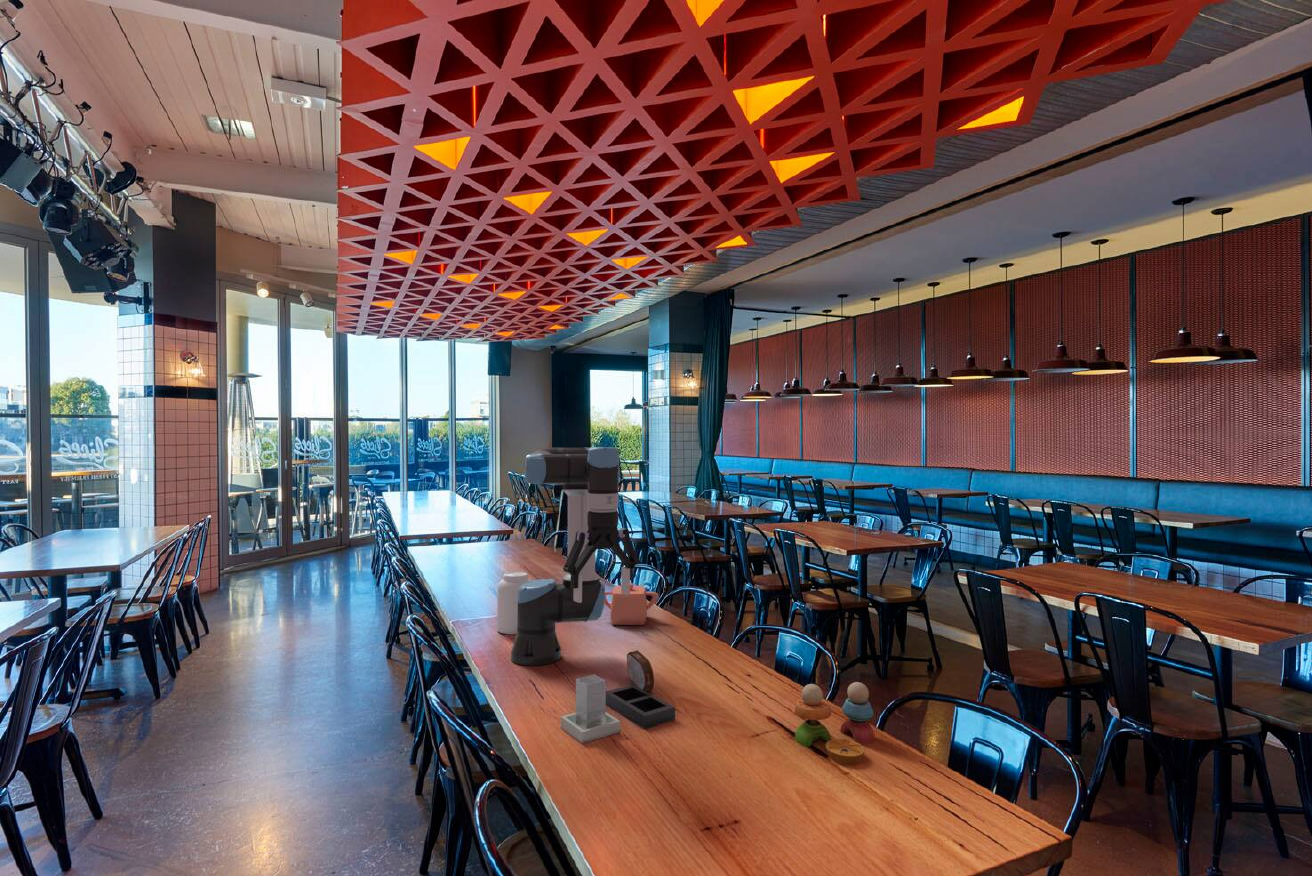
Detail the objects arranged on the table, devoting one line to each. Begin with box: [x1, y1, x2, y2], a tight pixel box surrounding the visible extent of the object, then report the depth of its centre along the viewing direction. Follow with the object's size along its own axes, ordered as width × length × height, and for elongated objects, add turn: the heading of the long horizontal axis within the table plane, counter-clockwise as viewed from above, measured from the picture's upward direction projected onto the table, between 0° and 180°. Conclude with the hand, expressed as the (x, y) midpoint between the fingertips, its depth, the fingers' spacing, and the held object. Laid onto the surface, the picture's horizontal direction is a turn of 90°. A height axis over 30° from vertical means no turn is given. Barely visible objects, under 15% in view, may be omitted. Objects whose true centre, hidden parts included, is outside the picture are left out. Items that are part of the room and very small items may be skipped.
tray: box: [560, 711, 621, 744], centre depth 151 cm, size 10×10×2 cm
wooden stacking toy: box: [794, 681, 876, 766], centre depth 145 cm, size 18×17×12 cm
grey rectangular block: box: [575, 673, 607, 730], centre depth 151 cm, size 5×5×11 cm
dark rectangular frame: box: [606, 683, 676, 730], centre depth 162 cm, size 18×9×3 cm, turn 36°
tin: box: [626, 649, 655, 692], centre depth 179 cm, size 15×3×8 cm, turn 22°
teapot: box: [604, 582, 659, 626], centre depth 246 cm, size 20×22×14 cm
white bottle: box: [496, 571, 532, 635], centre depth 230 cm, size 12×12×20 cm
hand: (602, 597), depth 159 cm, fingers open, 13 cm apart
